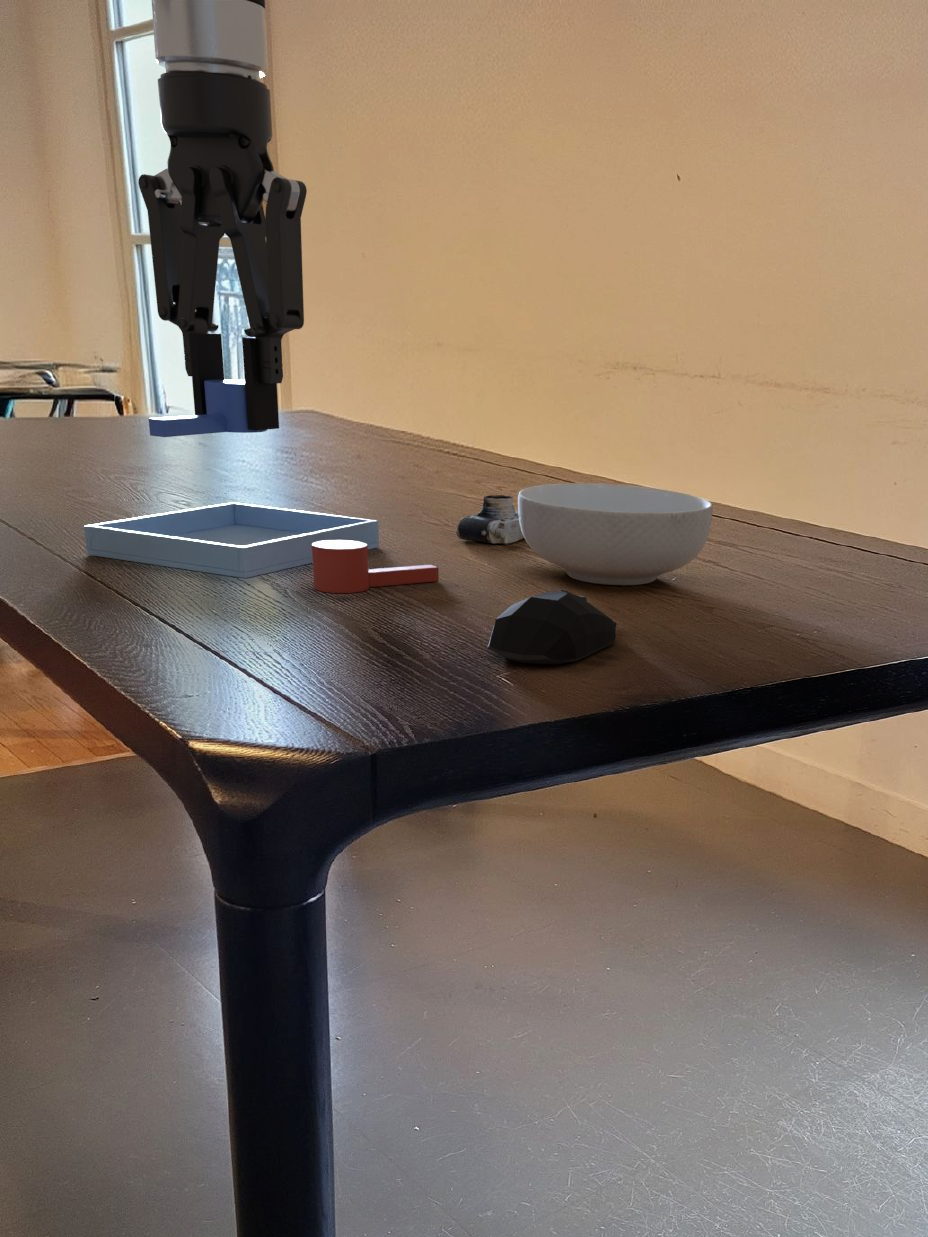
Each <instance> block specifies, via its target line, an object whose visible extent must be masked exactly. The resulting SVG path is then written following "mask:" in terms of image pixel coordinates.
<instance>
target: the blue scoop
mask: <svg viewBox="0 0 928 1237" xmlns="http://www.w3.org/2000/svg"><path fill="white" fill-rule="evenodd" d="M204 386H205V399H206V411H207V414H205V415H195V414H193V415H191V414H190V415H177V416H162V417H160V416H159V417H149V418H148V428H149V436H151V437H158V438H159V437H160V438H172V437H174V438H175V437H183V436H184V437H186V436H195V435H196V436H198V435H209V434H219V433H220V434H221V433H234V434H235V433H236V434H237V433H238V434H243V433H244V434H250V433H252V434H253V433H264V432H265V433H266V432H267V431H268V430H248V423H247V407H246V392H245V379H224V380H205V381H204Z"/></svg>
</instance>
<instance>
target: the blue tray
mask: <svg viewBox="0 0 928 1237" xmlns="http://www.w3.org/2000/svg"><path fill="white" fill-rule="evenodd" d="M83 527H84V537H85V544H86V554H87V555H88V556H94V557H101V558H106V559H113V560H121V561H126V562H127V561H128V562H134V563H141V564H147V565H153V566H160V567H167V568H174V569H180V570H188V571H194V572H199V573H207V574H214V575H221V576H227V577H232V578H233V577H234V578H241V579H249V578H253V577H258V576H261V575H267V574H270V573H275V572H279V571H283V570H288V569H291V568H296V567H301V566H305V565H309V564H313V562H312V543H314V542H318V541H324V540H352V541H359V542H363V543H366V544H367V545H368V551H369V550H373V549H377V548H379V547H380V532H379V520H378V519H369V518H361V517H355V516H353V517H352V516H345V515H339V514H338V515H336V514H329V513H320V512H314V511H306V510H296V509H288V508H280V507H272V506H264V505H257V504H248V503H241V502H227V503H226V502H225V503H220V504H213V505H208V506H201V507H196V508H189V509H188V508H187V509H181V510H175V511H169V512H164V513H156V514H150V515H143V516H138V517H131V518H126V519H118V520H111V521H105V522H100V523H99V522H98V523H93V524H86V525H84V526H83Z"/></svg>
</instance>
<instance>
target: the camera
mask: <svg viewBox="0 0 928 1237" xmlns="http://www.w3.org/2000/svg"><path fill="white" fill-rule="evenodd" d="M513 503H514V496H510V495H504V494H490V495H489V494H488V495H486V496H484V497H483V503H482V505H481V508H480V511H479V512H478V513H477V514H474V515H465V516H463V517H462V518H461V519H460V521H459V522H458V524H457V528H456V531H455V534H456V535H457V538H458V539H460V540H465V541H474V542H480V543H488V544H500V545H512V543H515V542H518V541H520V540H523V539H525V538H524V536H523V535H522V531H521V526H520V523H519V515H518V510H516V509H515V505H514V504H513Z"/></svg>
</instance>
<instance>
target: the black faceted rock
mask: <svg viewBox="0 0 928 1237" xmlns="http://www.w3.org/2000/svg"><path fill="white" fill-rule="evenodd" d="M616 641H617V622H616V621H614V620H613V619H612V618H611V617H609V616H608V615H606V613H604V612H603V611H601V610H600V609H598V608H597V607H595V606H594V605H593V604H592V603H590V602H588V600H587V598H586V596H583V595H577V594H574V593H572V592H569V591H568V590H564V589H561V590H550V591H547V592H543V593H540V594H537V595H533V596H530V597H527V598H525V599H523V600H520V601H518V602H516V603H513V604H511V605H510V606H509V607H508V608H506V609H505V610H504V611H503V612H502V613H501V614H500V615H498V616H497V617H496V618H495V620H494V624H493V627H492V630H491V634H490V638H489V641H488V644H487V649H488V650H490V651H491V652H493V653H495V654H496V655H498V656H499V657H501V658H504V659H505V660H509V661H511V662H515V663H516V662H518V663H523V664H528V665H529V664H533V665H561V664H568V663H573V662H577V661H579V660H580V661H581V659H584V658H586V657H588V656H590V655H591V654H594V653H596V652H599V651H600V650H603V649H605V648H607V647H609V646H610V645H612V644H614V643H615V642H616Z"/></svg>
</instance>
